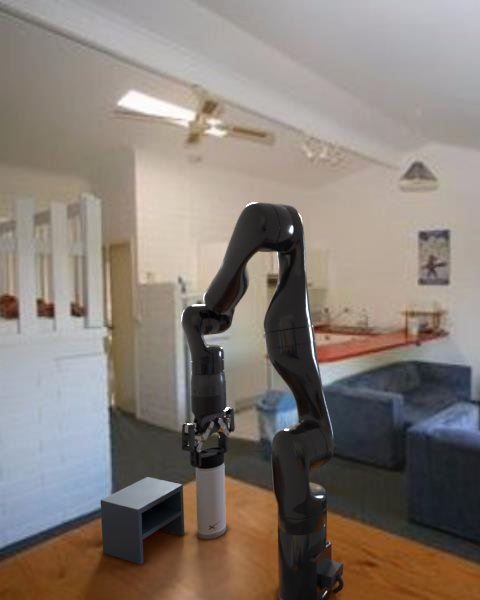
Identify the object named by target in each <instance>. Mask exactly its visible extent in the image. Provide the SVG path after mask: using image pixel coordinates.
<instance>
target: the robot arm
mask: <svg viewBox="0 0 480 600" xmlns="http://www.w3.org/2000/svg"><path fill="white" fill-rule="evenodd" d="M230 236H231V237H230V239H229V242H228V245H227V248H226V249H225V250H226V251H225V252H224V256H223V259H222V262H221V265H220V267H219V269H218V270H217V273H216V274H215V275H214V277H213V278H212V280H211V282H210V284H209V285H208V287H207V288H206V290H205V292H204V294H203V298H202V299H203V304H191V305H188V306H186V307H185V308H184V310H183V312H182V313H181V316H180V317H181V318H180V323H181V328H182V331H183V333H184V335H185V339H186V343H187V345H188V349H189V353H190V368H191V369H190V370H191V371H190V372H191V375H190V411H191V413H192V414H193V416H194V417H193V421H192V422H189V423H186V422H184V423H183V424H182V426H181V450H182V451H184V452H189V464H190V465H191V466H192V467H193V468H196V467H197V468H198V467H200V466H201V451H202V450H201V449H202V447H203V445H204V443H205V442H207V441H208V438H209V437H210V436H212V435H214V434H217V435H218V436H217V447H222V448H224V450H225V453H224V454H226V453H228V452H229V437H230V435H231V433H234V432H235V429H236V426H235V410H234V408H233V407H230V406H227V378H226V373H225V371H226V370H225V350H224V348H223V347H222V345H219V344H213V343H207V342H206V340H205V338H204V336H210V335H219V334H223V333H225V332H226V331H228V330H229V329H230V328H231V326H232V324H233V321H234V320H233V319H234V315H235V311H236V307H237V306H238V305H239V303H240V302H241V301H242V299H243V298H244V296H245V295H246V293H247V291H248V290H249V289H248V288H249V285H250V275H249V270H248V263H249V261H250V260H251V259H252V258H253V257H254V256H255V255H256V254H257V253H258V252H259V253H276V257H277V269H278V271H277V272H278V273H277V282H276V286H275V290H274V292H273V294H272V296H271V299H270V301H269V304H268V306H267V309H266V312H265V315H264V319H263V332H264V339H265V347H266V352H267V357H268V359H269V362H270V364H271V365H272V367H273V369H274V370H275V371H276V372H277V374H278V375H279V377H280V378H281V379H282V381H283V382H284V383H285V384H286V386H287V387H288V388H289V390H290V392H291V394H292V396H293V399H294V403H295V406H296V412H297V418H298V422H297V423H295V424H291V425H289V426H287V427H285V428H282V429H280V430H279V431H277V432H276V433H275V434H274V436H273V437H272V440H271V444H270V446H271V447H270V465H271V466H270V467H271V477H272V490H273V494H274V498H275V501H276V506H277V507H276V508H277V564H278V565H277V566H278V567H277V568H278V574H277V575H278V591H277V593H278V594H277V596H278V600H324V599H325V598H326V597H327V595H328V594H329V592H330V591H331V590H332V589H333V590H332V594H333V595H337V594H338V593H339V592H341V591H342V589H343V588H344V585H345V584H344V583H345V582H344V580H343V578H342V576H343V575H344V563H343V562H341V561H337V560H333V559H332V555H333V552H332V551H333V550H332V549H333V548H332V545H333V544H332V542H331V541H329V540H328V494H327V490H326V489H325V488H324V486H323V485H321V484H319V483H316V482H311V481H310V473H311V472H314V471H315V470H317V469H319V468H321V467H323V466H325V465H326V464H328V463H329V462H330V461H331V460H332V459H333V457H334V454H335V449H336V440H335V434H334V429H333V428H334V427H333V424H332V421H331V415H330V413H329V409H328V404H327V401H326V396H325V391H324V387H323V382H322V381H323V380H322V376H321V369H320V365H319V358H318V351H317V342H316V341H317V340H316V333H315V325H314V322H313V321H314V320H313V316H312V311H311V303H310V295H309V294H310V293H309V288H308V287H309V286H308V279H307V277H308V276H307V260H306V259H307V257H306V242H305V228H304V223H303V219H302V216H301V215H300V212H299V210H298V209H297V208H296V207H294V206H293V205H290V204H283V203H271V202H261V201H258V202H257V201H256V202H251V203H249V204H247V205H245V207H244V208H243V209H242V211H241V213H240V214H239V216H238V218H237V221H236V223H235V226H234V228H233V231H232V233H231V235H230ZM199 435H200V436H199ZM337 583H338V586H337V587H335V586H336V585H337ZM334 587H335V588H334Z"/></svg>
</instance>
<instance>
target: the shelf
mask: <svg viewBox="0 0 480 600" xmlns="http://www.w3.org/2000/svg"><path fill="white" fill-rule="evenodd" d="M99 501H100V519H101V536H102V537H101V539H102V553H103V554H105V555H108V556H112V557H116V558H119V559H121V560H124V561H128V562H131V563H135V564H138V565H142V564H143V563H144V541H143V540H144V539H146V538H148V537H149V536H151V535H152V534H154V533H156V532H157V531H159V530H160V531H163V532H166V533H169V534H170V533H171V534H174V535H177V536H184V535H185V533H186V532H185V505H184V485H183V484H182V483H177V482H172V481H168V480H164V479H159V478H154V477H150V476H146V477H144V478H142V479H140V480H138V481H136V482H134V483H132V484H130V485H128V486H126V487H124V488H121V489H120V490H118V491H115V492H114V493H112V494H110V495H108V496H106V497H103V498H101V499H100V500H99Z"/></svg>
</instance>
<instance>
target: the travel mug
mask: <svg viewBox="0 0 480 600" xmlns="http://www.w3.org/2000/svg"><path fill="white" fill-rule="evenodd" d="M200 451H201V466H200V467H198V468H197V467H195V492H196V493H195V496H196V497H195V498H196V523H197V524H196V526H197V527H196V528H197V531H196V532H197V536H198V537H199V538H200V539H204V540H212V539H215V538H218V537H220V536H222V535H223V534H224V533H225V532H226V531H227V512H226V511H227V509H226V508H227V507H226V474H225V473H226V471H225V469H226V468H225V466H226V465H225V454H226V453H225V450H224V448H222V447H218V446H214V447H208V448H205V449H203V450H200Z"/></svg>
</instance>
